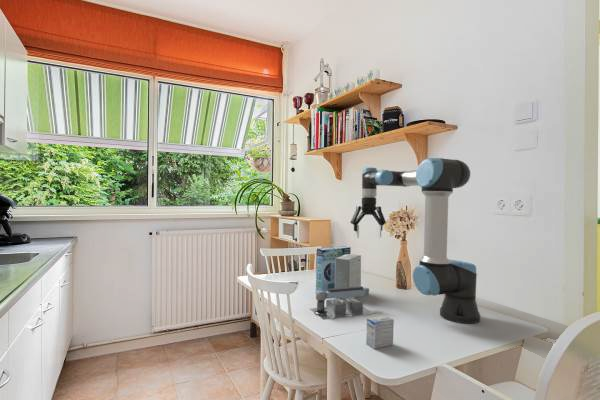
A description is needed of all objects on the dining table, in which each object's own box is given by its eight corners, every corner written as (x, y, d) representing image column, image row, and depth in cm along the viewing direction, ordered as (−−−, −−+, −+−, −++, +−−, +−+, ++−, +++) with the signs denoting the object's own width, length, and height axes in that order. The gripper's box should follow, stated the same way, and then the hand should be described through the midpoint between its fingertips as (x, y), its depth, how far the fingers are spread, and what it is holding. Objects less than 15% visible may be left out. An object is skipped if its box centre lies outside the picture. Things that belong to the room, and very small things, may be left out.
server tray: (375, 315, 146) (376, 300, 146) (322, 321, 136) (322, 305, 136) (358, 305, 159) (358, 291, 159) (307, 310, 149) (308, 296, 149)
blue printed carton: (343, 288, 187) (344, 245, 187) (350, 291, 183) (351, 247, 183) (315, 293, 176) (316, 248, 176) (321, 296, 172) (322, 249, 172)
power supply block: (345, 314, 144) (346, 303, 144) (334, 315, 142) (335, 304, 142) (336, 308, 151) (336, 298, 151) (326, 309, 149) (326, 299, 149)
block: (362, 312, 147) (362, 302, 147) (352, 313, 145) (352, 303, 145) (352, 306, 154) (353, 297, 154) (342, 307, 152) (343, 298, 152)
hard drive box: (346, 292, 180) (347, 253, 180) (361, 294, 176) (362, 255, 176) (333, 299, 167) (334, 257, 167) (348, 302, 163) (349, 259, 163)
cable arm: (318, 300, 141) (318, 291, 141) (314, 298, 145) (314, 289, 145) (370, 296, 150) (370, 287, 150) (365, 293, 154) (365, 285, 154)
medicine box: (384, 340, 119) (384, 315, 119) (393, 345, 115) (394, 319, 115) (365, 344, 116) (366, 318, 116) (374, 349, 112) (375, 322, 112)
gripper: (385, 197, 193) (384, 236, 194) (344, 196, 185) (343, 236, 185) (393, 197, 186) (392, 237, 187) (351, 196, 178) (350, 238, 178)
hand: (368, 237), depth 186 cm, fingers open, 13 cm apart
